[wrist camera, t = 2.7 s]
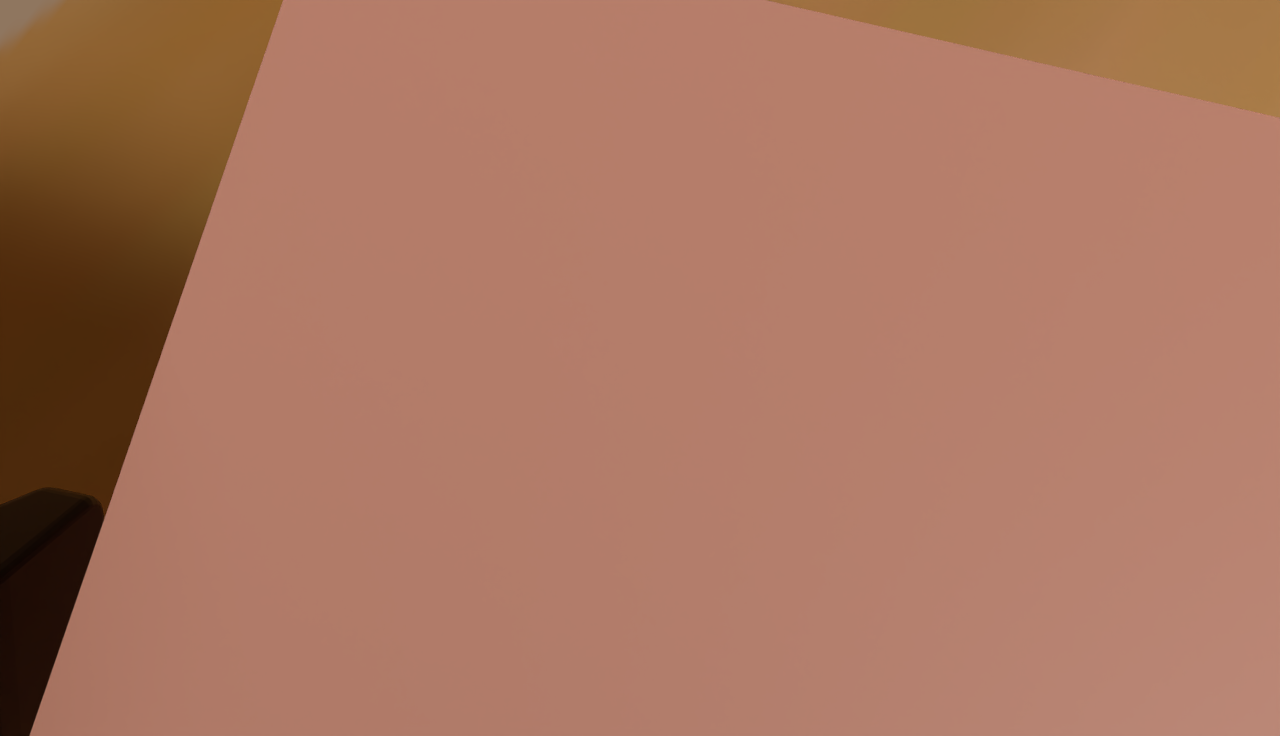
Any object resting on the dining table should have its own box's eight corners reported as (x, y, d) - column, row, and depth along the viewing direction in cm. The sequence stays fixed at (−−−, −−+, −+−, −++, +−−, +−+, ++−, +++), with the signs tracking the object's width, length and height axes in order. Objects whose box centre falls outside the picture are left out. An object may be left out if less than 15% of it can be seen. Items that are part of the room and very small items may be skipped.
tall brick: (739, 896, 16) (1437, 1554, 4) (388, 822, 16) (-146, 1242, 3) (795, 546, 17) (1429, 153, 5) (475, 476, 17) (317, -104, 5)
